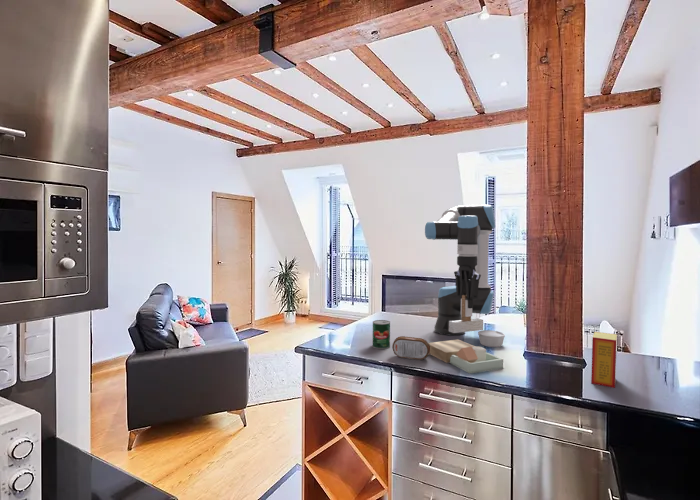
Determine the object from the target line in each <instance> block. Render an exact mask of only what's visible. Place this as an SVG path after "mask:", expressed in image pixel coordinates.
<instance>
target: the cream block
mask: <svg viewBox="0 0 700 500" xmlns="http://www.w3.org/2000/svg"><path fill="white" fill-rule="evenodd" d="M472 348H473V350H474V352H475V354H476V355H477V357H478V359H477V360H476V361H475V362H480V361H486V352H487V349H486V348H485V347H482V346H478V345H477V346H475V347H472Z"/></svg>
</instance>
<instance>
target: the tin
mask: <svg viewBox="0 0 700 500" xmlns="http://www.w3.org/2000/svg"><path fill="white" fill-rule="evenodd" d="M428 343H429V342H428V341H427V340H426V339H424V338H422V337H413V336H412V337H411V336H405V335H404V336H403V335H401V336H398V337H396V338H395V339H394V340H393V343H392V352H393V353H394V355H396V356H397V357H398V358H401V359H409V360H410V359H411V360H419V361H421V360H424V359H426V358H427V357H428V356H429V355H430V354H429V352H430V346H429V344H428Z"/></svg>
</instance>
